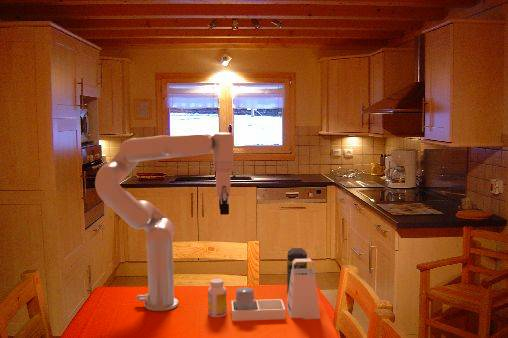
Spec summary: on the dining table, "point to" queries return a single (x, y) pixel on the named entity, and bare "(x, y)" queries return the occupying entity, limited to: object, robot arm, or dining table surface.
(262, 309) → the caddy
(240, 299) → the grey smooth round piece
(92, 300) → the dining table surface
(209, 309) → the supplement bottle
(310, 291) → the grater
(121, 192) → the robot arm
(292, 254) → the coffee jar
